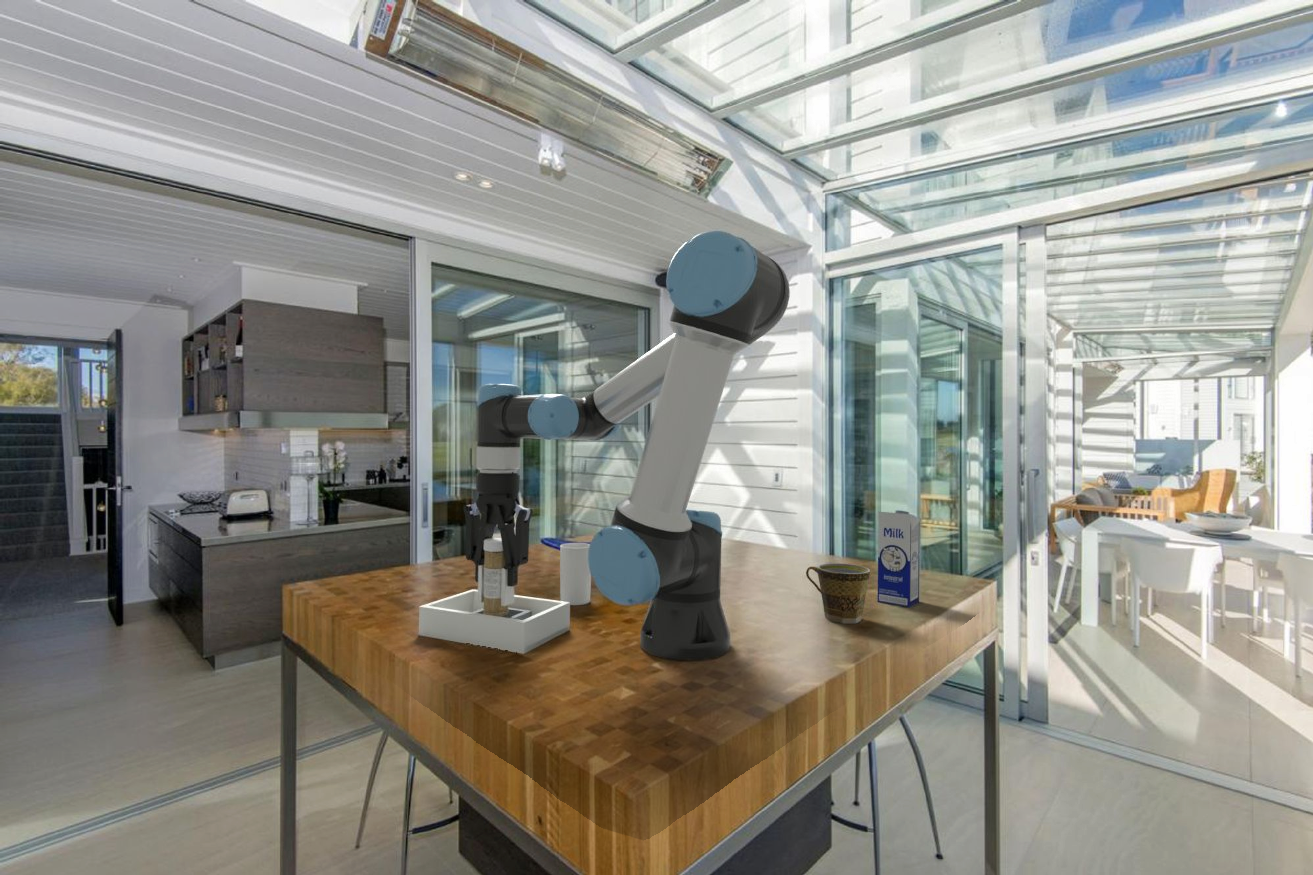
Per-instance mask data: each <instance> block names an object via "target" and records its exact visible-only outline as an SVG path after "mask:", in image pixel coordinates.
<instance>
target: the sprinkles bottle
mask: <svg viewBox="0 0 1313 875" xmlns="http://www.w3.org/2000/svg"><path fill="white" fill-rule="evenodd" d="M484 550H485V552H484V553H485V560H484V561H485V562H484V594H483V595H484V610H483V614H485V615H492V616H498V617H500V616H505V615H506V614H508V613H509V610H508V605H507V606H501V582H502V568H503V566H506V564H505V558H504V552H503V546H502V539H501V537H493V538H488V539H485V540H484Z"/></svg>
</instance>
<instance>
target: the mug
mask: <svg viewBox="0 0 1313 875" xmlns="http://www.w3.org/2000/svg"><path fill="white" fill-rule="evenodd" d="M589 546H590V543H584V542H568V543H562V544H560V545H559V548H560V549H559V550H560V551H559V555H560V556H559V562H560V563H559V573H560V576H559V577H560V579H559V583H560V584H559V585H560V586H559V588H560V590H559V592H560V593H559V594H560V595H559V596H560V601H564V602H570V606H582V605H583V606H584V605H587V604H589V603H590V602H591V590H592V589H591V588H592V587H591V586H592V585H591V583H592V576H591V574H590V570H589V565H588V550H589Z"/></svg>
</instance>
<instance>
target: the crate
mask: <svg viewBox="0 0 1313 875" xmlns="http://www.w3.org/2000/svg"><path fill="white" fill-rule="evenodd" d="M483 610H484V602H482V603H479V602H478V589H475V588H474V589H473V588H472V589H469V590H467V591H464V592H461V593H457V594H454V595H450V596H448V597H444V598H441V599H438V600H435V601H432V602H429V603H426V604H423V605H420V606H419V607H418V636H421V637H426V638H427V637H428V638H432V639H439V640H443V641H451V642H454V643H460V644H461V643H462V644H466V643H470V644H469V645H471V644H473V646H477V645H480V646H479V647H482V646H486V647H485V648H488V647H491V648H490V649H494V648H498V649H497V650H499V649H500V651H505V650H508V651H507V652H512V653H516V652H517V654H521V655H522V654H524V655H525V654H527V653H528V652H530V651H532V650H534V649H536V648H538V647H540V646H542V645H544V644H545V643H548V642H549V641H551V640H553V639H555V638H557V637H558V636H560V635H562V634H565V633H567V632H569V631H570V630H571V629H570V625H571V624H570V621H571V620H570V618H571V617H570V616H571V605H570V602H564V601H561V600H556V599H555V600H554V599H550V598H549V599H548V598H541V597H532V596H526V595H525V596H524V595H518V594H514V603H512V604H509V605H508V610H509V613H508V614H506V615H505V616H500V617H498V616H492V615H485V614H483Z"/></svg>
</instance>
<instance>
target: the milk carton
mask: <svg viewBox="0 0 1313 875" xmlns="http://www.w3.org/2000/svg"><path fill="white" fill-rule="evenodd" d="M877 514H878V516H877V517H878V519H877V520H878V527H877V531H878V532H877V534H878V536H877V539H878V540H877V542H878V543H877V602H878V603H883V604H888V605H889V604H890V605H895V606H899V607H900V606H901V607H905V608H910V607H912V606H914V605H916V604H917V603H919V602H920V556H921V554H920V548H921V547H920V546H921V545H920V544H921V542H920V539H921V538H920V537H921V534H920V531H921V528H920V527H921V519H920V518H918V517H917V516H916V515H914V514H911V513H910V512H908V511H906V510H899V509H898V510H895V512H889V511H877Z"/></svg>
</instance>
